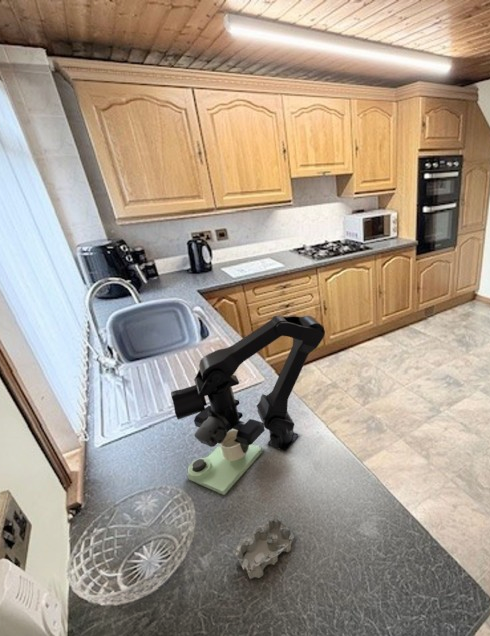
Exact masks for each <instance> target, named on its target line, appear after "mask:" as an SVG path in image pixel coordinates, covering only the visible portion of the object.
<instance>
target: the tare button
mask: <svg viewBox="0 0 490 636" xmlns="http://www.w3.org/2000/svg"><path fill="white" fill-rule="evenodd" d="M195 460H196V461H195ZM195 460H194V461H195V462H194V463H193V469H194V471H195V472H200V471H202V470H203V469H204V468H205V462H204V460H203V459H199V458H198V460H197V459H195Z"/></svg>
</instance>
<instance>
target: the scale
mask: <svg viewBox="0 0 490 636" xmlns="http://www.w3.org/2000/svg"><path fill="white" fill-rule="evenodd" d="M263 452H264V449H263V447H261V446H259V445H256V444H254V443H252V444H251V445H249V449H248V452H247V453H246V454H245V456H243V457H242V458H241V459H238V460H235V461H228V460H226V459H225V458H224V457H223V454H222V451H221V448H220V444H219V445H218V446H217V447H216V448H215V449H214V450H213V451H212V452H211V453H210V454H209V455H208V456H207V457H199V458H198V459H203V460H204V462H205V468H204V469H203V470H202V471H200V472H195V471H194V469H193V463H194V462H195V461H196V460H198V459H195V460H193V461H192V462H191V463H190V464H189V465H188V467H187V474H188V475H187V478H188V480H190V481H191V482H193V483H196V484H198V485H200V486H203V487H205V488H206V489H209V490H212V491H213V492H215V493H218V494H220V495H223V496H225V495H226V494H227V493H228V491H230V489H231V488H232V487H233V486H234V485H235V484H236V482H237V481H238V480H239V479H240V478H241V477H242V476H243V475H244V473H245V472H246V471H247V470H248V469H249V468H250V466H251V465H253V463H254V462H255V461H256V460H257V459H258V458H259V457H260V456H261V454H262V453H263Z"/></svg>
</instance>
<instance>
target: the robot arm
mask: <svg viewBox="0 0 490 636" xmlns="http://www.w3.org/2000/svg"><path fill="white" fill-rule="evenodd" d="M325 334H326V330H325V327H324V326H323V325H322V324H321V323H320V322H319V321H318V320H317V319H316V318H315V317H313V316H312V315H303V316H297V315H288V316H287V315H286V316H284V315H274V316H272V317H271V319H270V320H269V321H267V322H266V323H264V324H263V325H261V326H260V327H258V328H256V329H255V330H254V331H252V332H251V333H249V334H247V335H246V336H244V337H243V338H241V339H240V340H238V341H237V342H235V343H234V344H232V345H230V346H228V347H225V348H224V347H223V348H219V349H217V350H215V351H212V352H210V353H208V354H206V355H204V356H203V357H202V358H201V359H200V361H199V364H198V368H199V370H198V372H197V373H196V375H195V378H194V385H191V386H188V387H185V388H182V389H176V390H172V391H171V392H170V395H171V397H170V398H171V400H172V403H173V408H174V414H175V416H176V419H177V420H182V419H185V418H188V417H190V416H193V415H195V417H194V419H193V422H194V425H195V427H197V428H198V429H197V430H196V431H195V433H194V437H195V439H196V440H198V442H200V443H201V444H203V445H206V446H209V447H210V448H214V447H215V446H217V444H219V445H220V443H222V441H223V440H224V438H225V437H226V435H227V432H229V431H231V430H238V432H237V435H236V437H237V438H236V439H235V440H234V441H235V442H238V443H240V446H241V448H242V451H243V452H244V453H246V452H247V450H248V447H249V445H251V444H254V443H255V441H257V439H258V438H259V437H260V436H261V435H262V434H263V433H264V432H265V430H268V431H269V441H268V442H267V445H268V446H270V447H272V448H274V449H278V450H282V451H284V452H287V451H288V450H289V448H290V447H291V446H292V445H293V444H294V442H295V441H296V440H297V439H298V438H299V434H298V433H296V432H294V428H295V422H294V420H293V419H292V417H291V415H290V414H289V412H288V406H289V405H288V404H289V403H288V401H289V398H290V396H291V394H292V392H293V390H294V387H295V386H296V383H297V381H298V379H299V376H300V374H301V372H302V369H303V367H304V365H305V363H306V361H307V359H308V357H309V355H310V353H312V352H313V351H315V350H316V349H317V348H318V347H319V346H320V344H321V342H322V341H323V339H324V337H325ZM281 337H288V338H291V339H292V346H291V349H290V351H289V353H288V355H287V358H286V359H285V362H284V364H283V366H282V369H281V370H280V373H279V375H278V377H277V380H276V382H275V384H274V386H273V388H272V390H271V392H270V393H268V394H264V393H263V394H262V395H260V399H259V402H258V403H257V404H256V408H257V414H258V416H259V418H260V420H261V421H260V420H256V419H253V418H249V419H248V420H247V421H246V422H245V421H242V420H240V419H242V417H243V416H244V415H243V413H242V412H241V411H238V406H239V405H240V404H241V402H240V400H239V399H235V394H234V391H233V387H234V386H238V385H239V384H240V381H239V379H238V376H237V375H236V374H235V373H236V372H237V370H238V369H239V367H240V366H241V365H242V364H243V363H244V362H245V361H247V360H249V359H250V358H251V357H253V356H254V355H256V354H258V353H259V352H260V351H262V350H263V349H265V348H266V347H267V346H269V345H270V344H272V343H273V342H275V341H276V340H278V339H279V338H281ZM206 397H207V399H208V402H209V405H208V403H207V400H206Z"/></svg>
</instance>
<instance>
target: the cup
mask: <svg viewBox="0 0 490 636" xmlns="http://www.w3.org/2000/svg"><path fill="white" fill-rule="evenodd" d="M237 432H238V430H235V429H232V430H229V431H228V432H227V435H226V437H225V438H224V440H223V441H222V443H220V444H219V445H220V448H221V451H222V454H223V457H224V458H225V459H226V460H228V461H235V460H238V459H241V458H242V457H243V456H245V454H246V453H247V452H248V450H247V452H246V453H244V452H243V451H242V448H241V446H240V443H238V442H235V441H234V440H235V439H236V438H237V437H236V435H237ZM248 449H249V447H248Z"/></svg>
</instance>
